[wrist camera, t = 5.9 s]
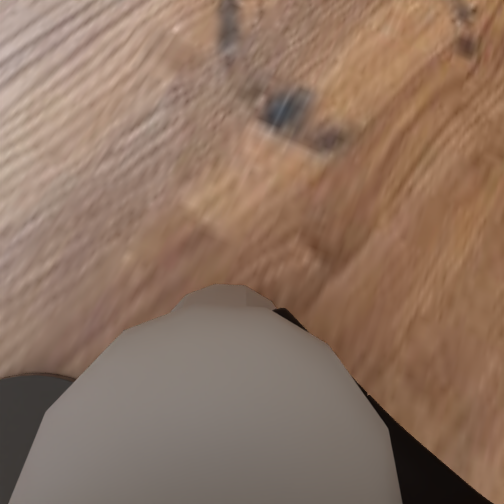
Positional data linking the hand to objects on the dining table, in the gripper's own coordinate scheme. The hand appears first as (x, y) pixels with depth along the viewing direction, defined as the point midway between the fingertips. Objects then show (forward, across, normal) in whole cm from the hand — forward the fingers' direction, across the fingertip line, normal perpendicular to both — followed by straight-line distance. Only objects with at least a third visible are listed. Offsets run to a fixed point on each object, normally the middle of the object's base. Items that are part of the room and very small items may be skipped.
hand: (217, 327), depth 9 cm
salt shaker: (+4, 0, +6) cm, 7 cm away
